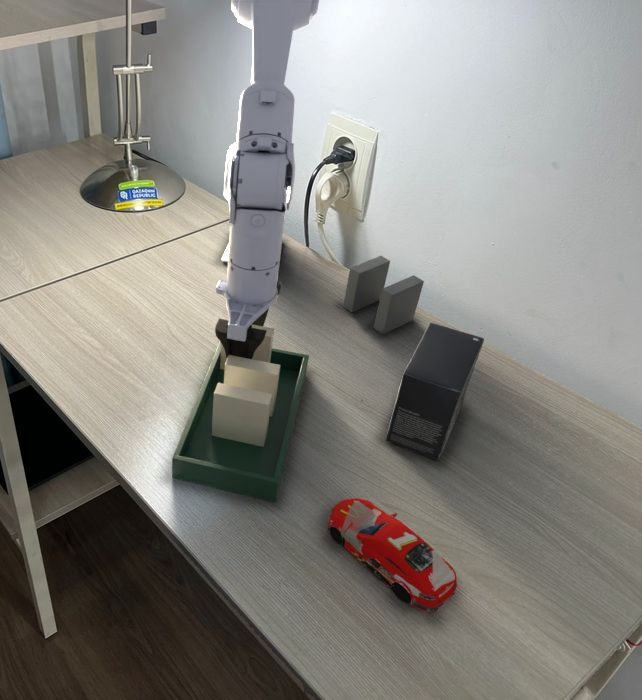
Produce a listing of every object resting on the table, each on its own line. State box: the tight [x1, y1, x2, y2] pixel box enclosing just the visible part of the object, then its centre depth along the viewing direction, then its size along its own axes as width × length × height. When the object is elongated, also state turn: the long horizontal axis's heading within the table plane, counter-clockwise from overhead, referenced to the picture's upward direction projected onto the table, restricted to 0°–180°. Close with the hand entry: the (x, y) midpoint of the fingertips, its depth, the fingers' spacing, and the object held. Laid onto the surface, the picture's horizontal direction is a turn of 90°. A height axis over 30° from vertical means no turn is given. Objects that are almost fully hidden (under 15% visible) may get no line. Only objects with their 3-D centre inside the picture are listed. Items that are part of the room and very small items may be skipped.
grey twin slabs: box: [342, 255, 425, 335], centre depth 95 cm, size 8×6×6 cm
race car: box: [327, 497, 458, 613], centre depth 65 cm, size 13×5×4 cm, turn 37°
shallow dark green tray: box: [171, 341, 310, 503], centre depth 80 cm, size 21×11×3 cm, turn 163°
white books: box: [212, 355, 281, 447], centre depth 78 cm, size 7×6×6 cm
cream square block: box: [220, 325, 275, 370], centre depth 85 cm, size 2×6×6 cm, turn 73°
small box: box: [385, 322, 485, 461], centre depth 77 cm, size 11×6×10 cm, turn 149°
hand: (245, 351), depth 85 cm, fingers open, 7 cm apart
